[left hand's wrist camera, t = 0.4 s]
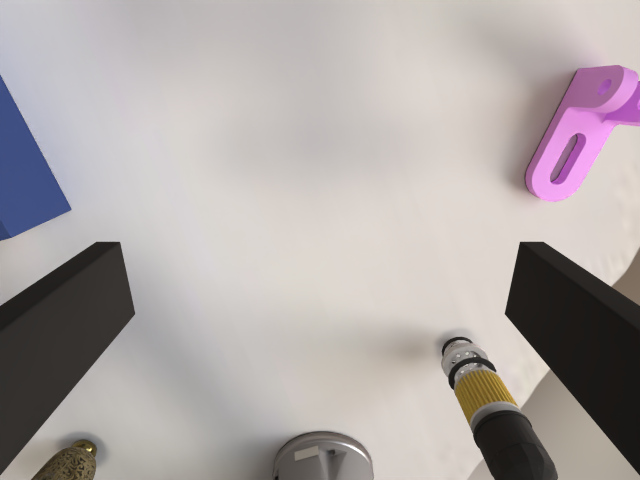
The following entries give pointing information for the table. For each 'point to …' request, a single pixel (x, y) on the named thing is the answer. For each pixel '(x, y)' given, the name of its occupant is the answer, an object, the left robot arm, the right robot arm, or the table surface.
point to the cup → (71, 463)
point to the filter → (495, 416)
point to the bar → (23, 175)
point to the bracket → (583, 127)
